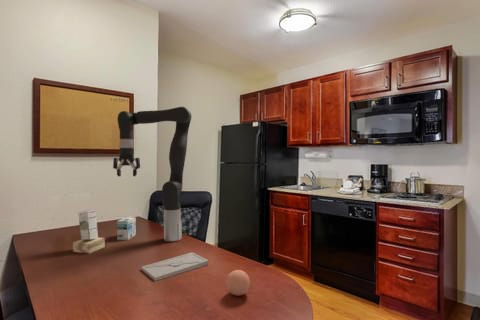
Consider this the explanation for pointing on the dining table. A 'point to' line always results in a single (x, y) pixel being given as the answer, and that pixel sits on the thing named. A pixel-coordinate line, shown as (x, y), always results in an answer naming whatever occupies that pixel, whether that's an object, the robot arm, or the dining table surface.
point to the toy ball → (238, 282)
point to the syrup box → (88, 225)
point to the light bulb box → (126, 228)
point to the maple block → (88, 245)
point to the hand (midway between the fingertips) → (126, 176)
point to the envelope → (174, 266)
